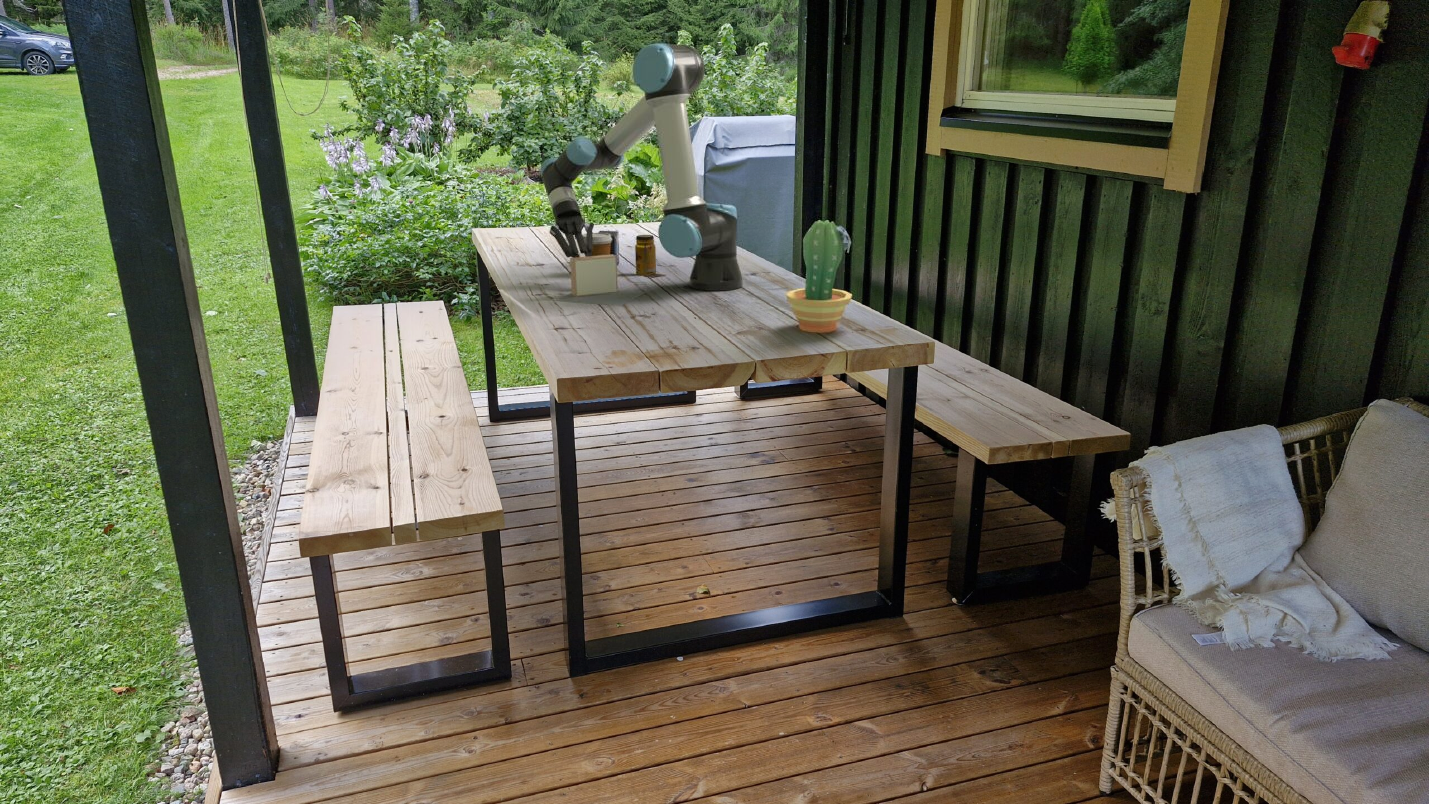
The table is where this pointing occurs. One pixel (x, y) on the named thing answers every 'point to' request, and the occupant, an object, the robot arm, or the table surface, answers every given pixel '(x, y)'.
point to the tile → (594, 275)
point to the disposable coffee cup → (600, 243)
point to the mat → (604, 298)
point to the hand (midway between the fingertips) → (586, 275)
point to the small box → (613, 243)
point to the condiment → (646, 256)
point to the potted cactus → (821, 279)
